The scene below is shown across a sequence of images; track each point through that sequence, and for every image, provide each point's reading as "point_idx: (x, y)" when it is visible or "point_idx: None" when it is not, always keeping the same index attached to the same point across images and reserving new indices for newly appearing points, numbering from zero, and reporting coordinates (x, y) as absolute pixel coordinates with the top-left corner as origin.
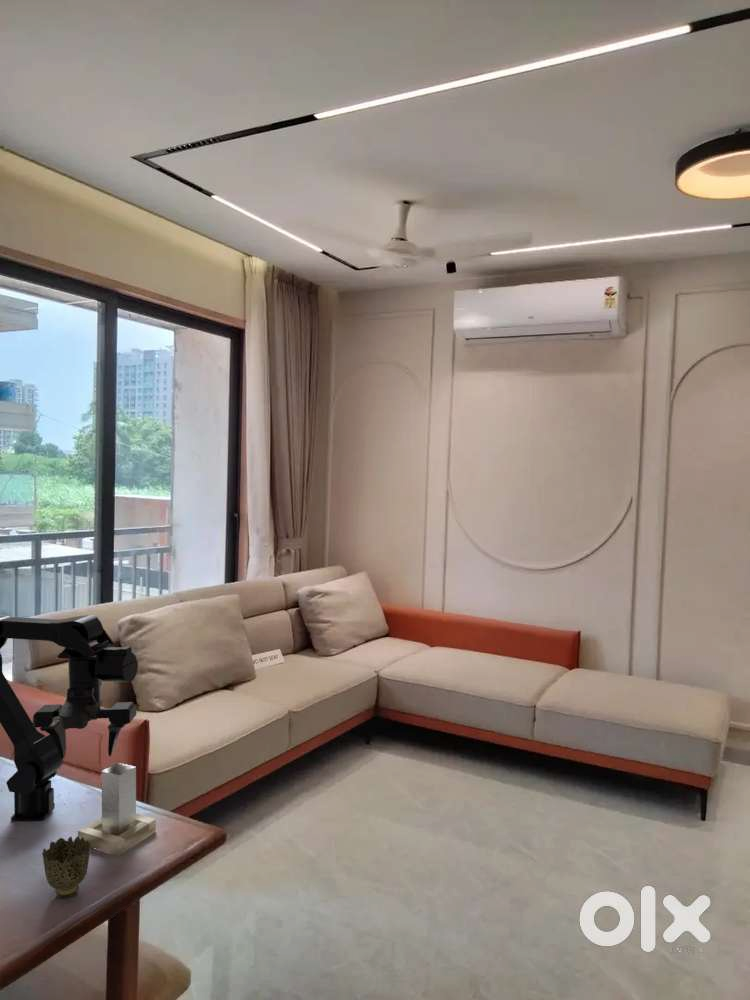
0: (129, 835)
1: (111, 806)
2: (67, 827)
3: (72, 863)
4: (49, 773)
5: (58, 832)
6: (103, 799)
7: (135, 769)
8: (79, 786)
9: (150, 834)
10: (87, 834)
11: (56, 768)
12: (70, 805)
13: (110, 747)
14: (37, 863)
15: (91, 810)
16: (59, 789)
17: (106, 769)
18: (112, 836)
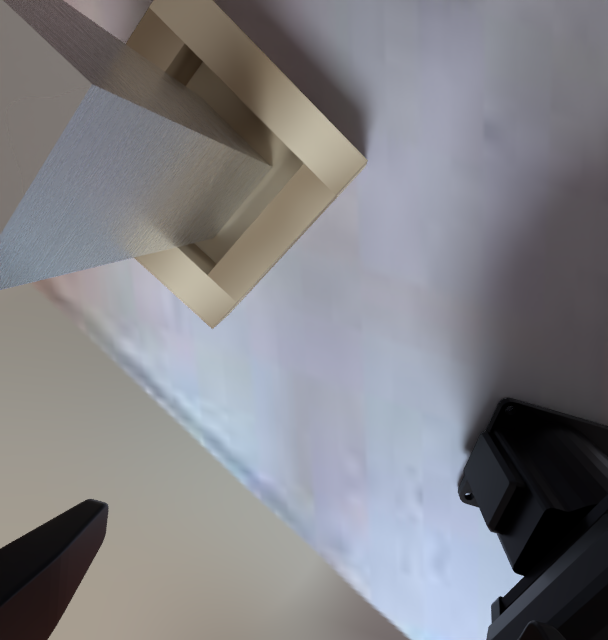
0: (131, 35)
1: (165, 85)
2: (409, 316)
3: None
4: (565, 560)
5: (442, 285)
6: (206, 130)
7: None
8: (373, 596)
9: None
10: (323, 115)
11: (518, 608)
12: (401, 478)
13: (8, 563)
14: (531, 28)
15: (326, 418)
16: (440, 599)
17: (44, 122)
18: (207, 48)
